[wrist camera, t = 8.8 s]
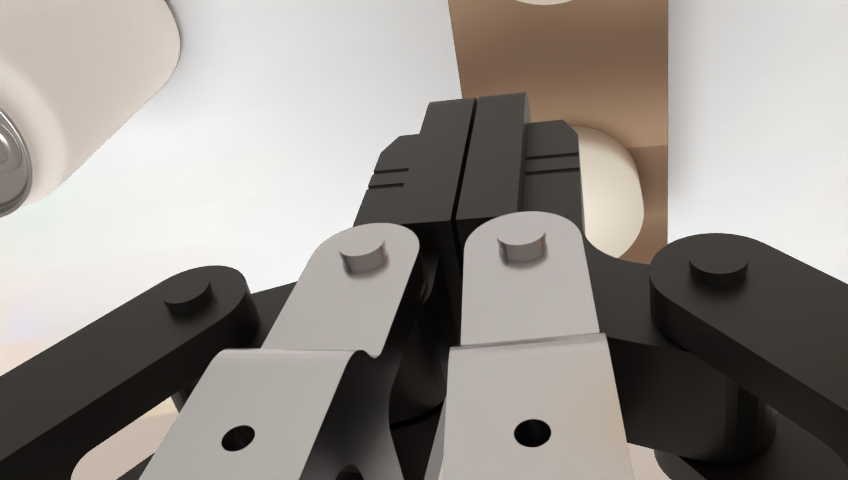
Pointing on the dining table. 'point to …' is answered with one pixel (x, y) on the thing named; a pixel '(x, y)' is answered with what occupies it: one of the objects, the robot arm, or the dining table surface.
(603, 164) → the knob
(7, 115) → the can
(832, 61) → the dining table surface
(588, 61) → the mount
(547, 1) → the knob
